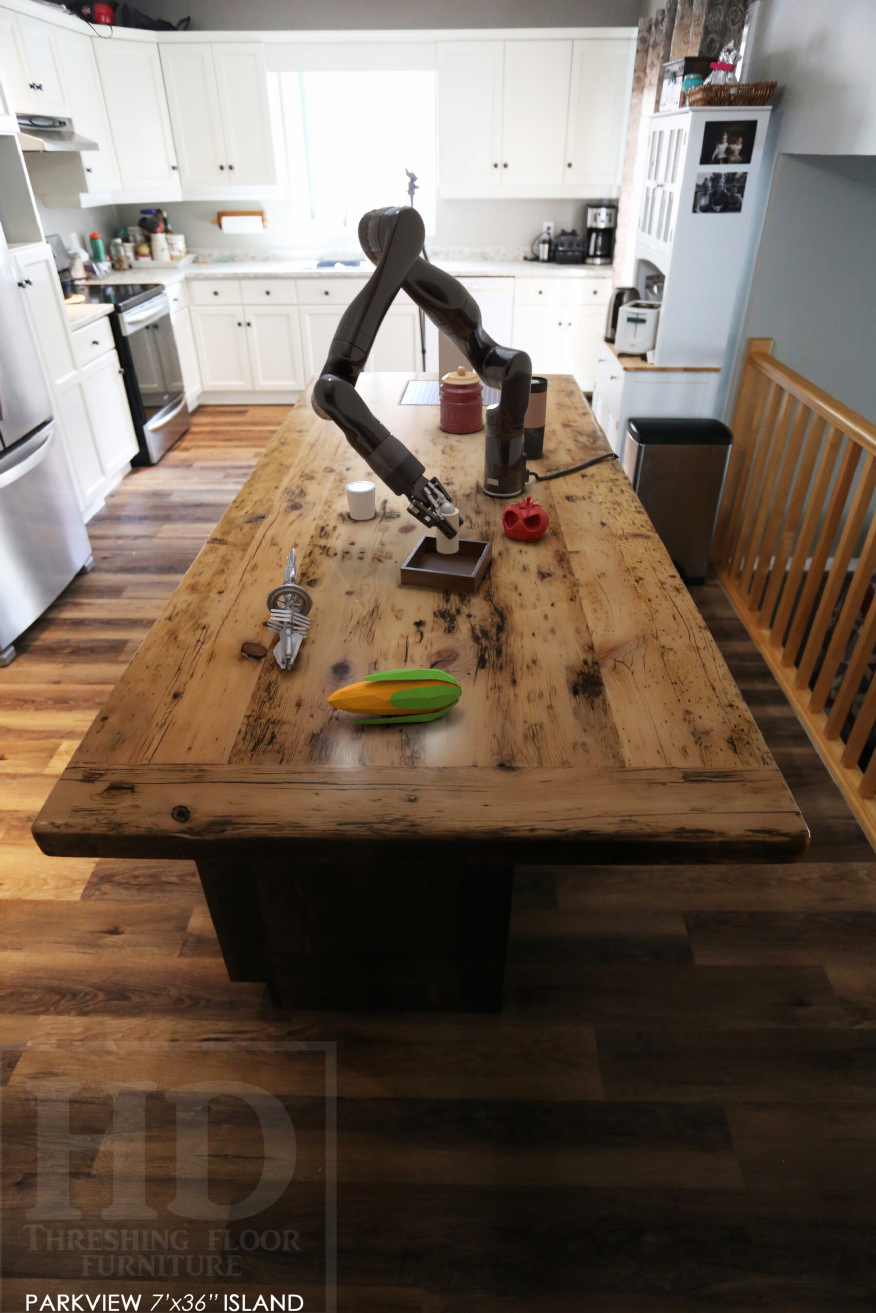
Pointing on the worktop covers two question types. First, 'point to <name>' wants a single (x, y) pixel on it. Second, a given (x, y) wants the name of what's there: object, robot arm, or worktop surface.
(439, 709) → the corn
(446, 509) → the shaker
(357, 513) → the beige white cylinder
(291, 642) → the spaceship
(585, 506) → the worktop surface
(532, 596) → the worktop surface
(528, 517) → the pomegranate
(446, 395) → the kitchen canister
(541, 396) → the travel mug
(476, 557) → the tray
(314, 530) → the worktop surface
